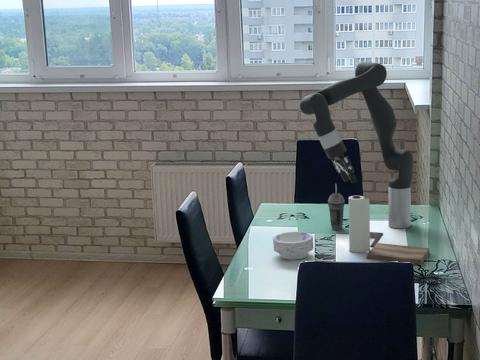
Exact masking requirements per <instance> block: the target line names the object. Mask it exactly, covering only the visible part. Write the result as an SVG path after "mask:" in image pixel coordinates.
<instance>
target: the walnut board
mask: <svg viewBox="0 0 480 360" xmlns="http://www.w3.org/2000/svg"><path fill="white" fill-rule="evenodd" d="M430 252H431V251H430V247H419V246H413V245H412V246H410V245H401V244H392V243H390V244H389V243H383V242H382V243H381V242H377V243H376V245H375V246H374V247H371V248H370V251H369V252H367V253H366V260H373V261H380V262H389V261H398V262H411V263H413V264H412V265H416V266H421V265H422V264H423V263H424V261H425V260H426V259H427V257H428V256H429V255H430ZM398 262H397V263H398Z"/></svg>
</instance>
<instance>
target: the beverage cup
mask: <svg viewBox="0 0 480 360" xmlns="http://www.w3.org/2000/svg"><path fill="white" fill-rule="evenodd" d="M337 184H338V183H335V185H334V186H335V192H334V193H333V192H332V194H330V195H329V197H328V200H327V205H328V209H329V210H328V212H329V218H330V226H331V230H333V231H339V230H342V229H343V225H344V224H343V223H344V209H345V205H346V204H345V203H346V202H345V198H344V196H343V195H342V194H341V193H340V192H338V185H337Z"/></svg>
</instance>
